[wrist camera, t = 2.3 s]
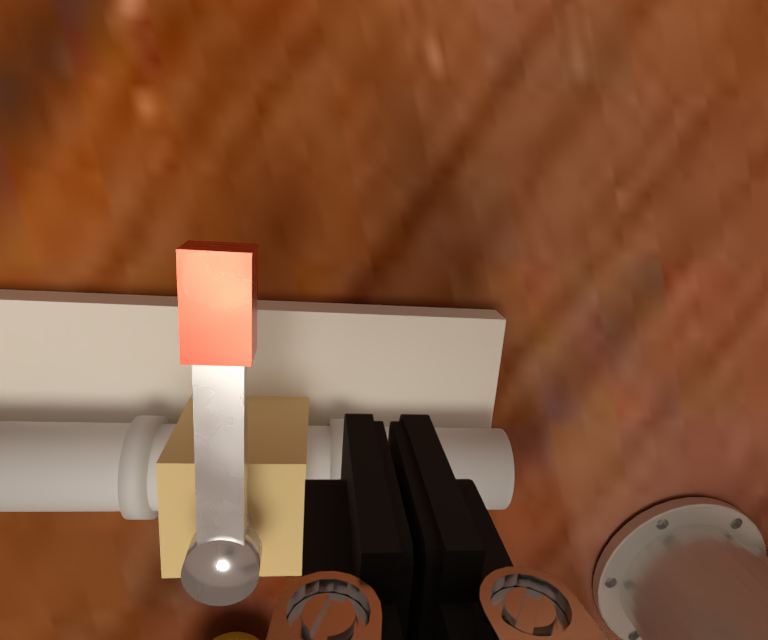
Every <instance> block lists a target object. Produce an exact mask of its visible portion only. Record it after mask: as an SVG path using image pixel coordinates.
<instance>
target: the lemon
mask: <svg viewBox="0 0 768 640" xmlns="http://www.w3.org/2000/svg"><path fill="white" fill-rule="evenodd" d="M213 640H259V639H258V638H256V637H255V636H253V635H251V634H248V633H245V632H229V633H225V634H222V635H220V636H218V637H216V638H214V639H213Z"/></svg>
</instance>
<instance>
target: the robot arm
mask: <svg viewBox="0 0 768 640" xmlns="http://www.w3.org/2000/svg"><path fill="white" fill-rule="evenodd" d="M593 595H594V601H595V604H596V606H597V609H598V611H599V613H600V615H601V617H602V618H603V620H604V621H605V623H606V624H607V626H608V627H609V629H610V630H611V631H612V632H613V633H614V634H615V635H617V636H618V637H619V638H620V639H622V640H768V557H767V555H766V546H765V543H764V540H763V536H762V535H761V533H760V531H759V530H758V528H757V526H756V525H755V524H754V523H753V522H752V521H751V520H750V519H749V518H748V517H747V516H745V515H744V514H743V513H742V512H741V511H739V510H738V509H737V508H735V507H734V506H732V505H730V504H728V503H725V502H723V501H721V500H717V499H712V498H706V497H686V498H681V499H675V500H671V501H668V502H665V503H662V504H659V505H656V506H654V507H652V508H650V509H648V510H646V511H644V512H642V513H640V514H639V515H637V516H636V517H635V518H633V519H632V520H631V521H629V522H628V523H626V524H625V525H624V526H623V527H622V528H621V529H620V530H619V531H618V532H617V533H616V534H615V535H614V536H613V538H612V539H611V540H610V542H609V543H608V545H607V546H606V547H605V549H604V550H603V552H602V554H601V556H600V558H599V560H598V563H597V566H596V569H595V573H594V577H593ZM266 640H608V638H607V637H606V636H605V634H604V633H603V632H602V631H601V629H600V628H599V627H598V625H597V624H596V623H595V621H594V620H593V619H592V617H591V616H590V615H589V613H588V612H587V611H586V610H585V608H584V607H583V606H582V604H581V603H580V602H579V600H578V599H577V598H576V596H575V595H574V594H573V593H572V592H571V591H570V590H569V589H568V588H567V587H566V586H565V585H564V584H563V583H561V582H560V581H558V580H557V579H555V578H554V577H552V576H551V575H548V574H546V573H543V572H541V571H539V570H536V569H531V568H526V567H521V566H516V567H514V566H513V564H512V562H511V560H510V558H509V556H508V553H507V551H506V549H505V547H504V545H503V543H502V541H501V539H500V536H499V534H498V532H497V530H496V528H495V526H494V524H493V521H492V519H491V517H490V515H489V513H488V511H487V509H486V506H485V504H484V502H483V500H482V498H481V496H480V494H479V491H478V489H477V487H476V485H475V483H474V482H473V480H471V479H456V478H455V476H454V474H453V471H452V469H451V467H450V464H449V462H448V459H447V457H446V455H445V452H444V450H443V447H442V445H441V443H440V440H439V438H438V435H437V433H436V431H435V428H434V426H433V423H432V421H431V419H430V416H429V415H425V414H401V415H400V419H399V421H391V422H390V425H389V435H388V439H387V435H386V431H385V427H384V423H383V421H374V418H373V414H346V413H345V416H344V429H343V446H342V463H341V479H305V495H304V522H303V552H302V577H301V578H299V579H297V580H296V581H294V582H292V583H291V584H290V585H289V586H288V587H287V588H286V589H285V590H284V591H283V592H282V593H281V595H280V597H279V599H278V601H277V603H276V605H275V609H274V612H273V616H272V620H271V623H270V627H269V630H268V634H267V638H266Z"/></svg>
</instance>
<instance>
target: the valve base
mask: <svg viewBox="0 0 768 640" xmlns="http://www.w3.org/2000/svg"><path fill="white" fill-rule="evenodd" d="M505 325H506V319H505V318H504V317H503V316H502V315H501V314H500V313H498V312H497V311H496V310H487V309H463V308H439V307H415V306H391V305H367V304H344V303H320V302H296V301H272V300H257V351H256V354H255V357H254V360H253V363H252V366H251V367H248V416H247V525H249V526H250V527H251V528H253V529H254V530H255V531H256V533H257V534H258V535H259V537H260V539H261V542H262V557H261V564H260V571H259V576H302V552H303V522H304V495H305V479H341V463H342V446H343V429H344V416H345V413H346V414H373V418H374V421H383V423H384V427H385V431H386V435H387V439H388V435H389V425H390V422H391V421H399V419H400V415H401V414H425V415H429V416H430V419H431V421H432V423H433V426H434V428H435V431H436V433H437V435H438V438H439V440H440V443H441V445H442V447H443V450H444V452H445V455H446V457H447V459H448V462H449V464H450V467H451V469H452V471H453V474H454V476H455V478H456V479H471V480H473V482H474V483H475V485H476V487H477V489H478V491H479V494H480V496H481V498H482V500H483V502H484V504H485V506H486V509H487V510H504V509H506V508H507V507H508V506H509V504H510V502H511V499H512V495H513V489H514V460H513V453H512V448H511V444H510V441H509V439H508V436H507V435H506V433H505V432H504V430H502V429H500V428H491V424H492V417H493V410H494V403H495V396H496V388H497V381H498V374H499V367H500V360H501V353H502V346H503V339H504V332H505ZM45 511H121V514H122V516H123V517H124V518H125V519H127V520H141V519H155V518H156V517H157V516H158V515H159V534H160V554H161V573H162V578H181V570H182V566H183V563H184V560H185V557H186V554H187V551H188V548H189V545H190V542H191V539H192V537H193V536H194V534H195V533H196V495H195V460H194V424H193V389H192V365H180V347H179V319H178V297H177V296H153V295H129V294H105V293H81V292H57V291H33V290H10V289H0V512H45Z"/></svg>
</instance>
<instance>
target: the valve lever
mask: <svg viewBox="0 0 768 640" xmlns="http://www.w3.org/2000/svg"><path fill="white" fill-rule="evenodd" d="M176 261H177V290H178V319H179V347H180V365H192V389H193V424H194V460H195V495H196V533H195V534H194V536H193V537H192V539H191V542H190V545H189V548H188V551H187V554H186V557H185V560H184V563H183V566H182V570H181V581H182V584H183V586H184V588H185V590H186V591H187V593H188V594H189V595H190V596H191V597H193V598H194V599H196V600H197V601H199V602H201V603H204V604H207V605H212V606H227V605H231V604H235V603H237V602H240V601H242V600H243V599H245V598H246V597H248V596H249V595H250V594H251V593H252V591H253V590H254V589H255V587H256V585H257V582H258V578H259V571H260V564H261V557H262V542H261V539H260V537H259V535H258V534H257V533H256V531H255V530H254V529H253V528H251V527H250V526H249V525H247V416H248V367H251V366H252V363H253V360H254V357H255V354H256V351H257V293H258V244H247V243H228V242H210V241H191V240H188V241H187V242H186V243H184V244H183V245H181V246H180V247H178V248H177V249H176Z"/></svg>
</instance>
